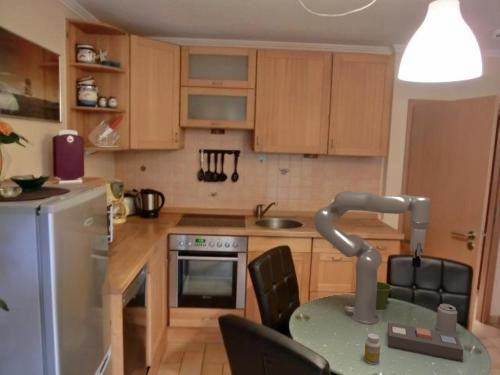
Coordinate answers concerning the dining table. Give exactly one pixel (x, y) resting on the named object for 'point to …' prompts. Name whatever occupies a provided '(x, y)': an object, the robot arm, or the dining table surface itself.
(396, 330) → the cream key
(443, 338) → the slate key
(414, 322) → the dining table surface
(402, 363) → the dining table surface
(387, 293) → the plant pot
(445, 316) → the can
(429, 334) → the terracotta key
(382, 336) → the dining table surface
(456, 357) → the key panel
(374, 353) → the supplement bottle
